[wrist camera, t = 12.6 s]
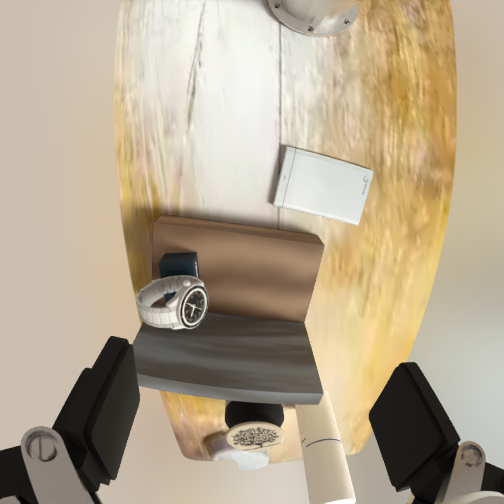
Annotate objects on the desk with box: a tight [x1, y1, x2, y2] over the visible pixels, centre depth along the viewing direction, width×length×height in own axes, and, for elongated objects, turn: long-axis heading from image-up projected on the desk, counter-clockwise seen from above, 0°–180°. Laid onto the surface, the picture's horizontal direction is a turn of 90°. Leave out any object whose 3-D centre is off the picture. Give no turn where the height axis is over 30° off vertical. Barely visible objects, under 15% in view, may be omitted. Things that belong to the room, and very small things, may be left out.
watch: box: [136, 252, 208, 330], centre depth 34 cm, size 6×8×11 cm
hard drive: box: [273, 146, 373, 226], centre depth 39 cm, size 2×8×12 cm
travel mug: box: [225, 400, 284, 452], centre depth 41 cm, size 8×8×18 cm
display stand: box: [132, 215, 325, 405], centre depth 35 cm, size 14×22×18 cm, turn 82°
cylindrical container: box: [295, 390, 356, 504], centre depth 43 cm, size 7×7×25 cm
